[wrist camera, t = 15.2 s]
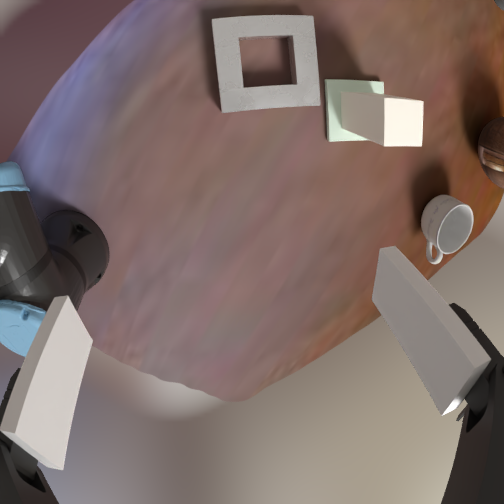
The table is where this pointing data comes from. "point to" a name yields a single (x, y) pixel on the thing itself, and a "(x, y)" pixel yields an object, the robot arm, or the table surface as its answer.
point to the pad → (334, 105)
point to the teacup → (445, 225)
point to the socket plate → (300, 55)
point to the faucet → (500, 4)
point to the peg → (383, 118)
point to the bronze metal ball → (493, 150)
